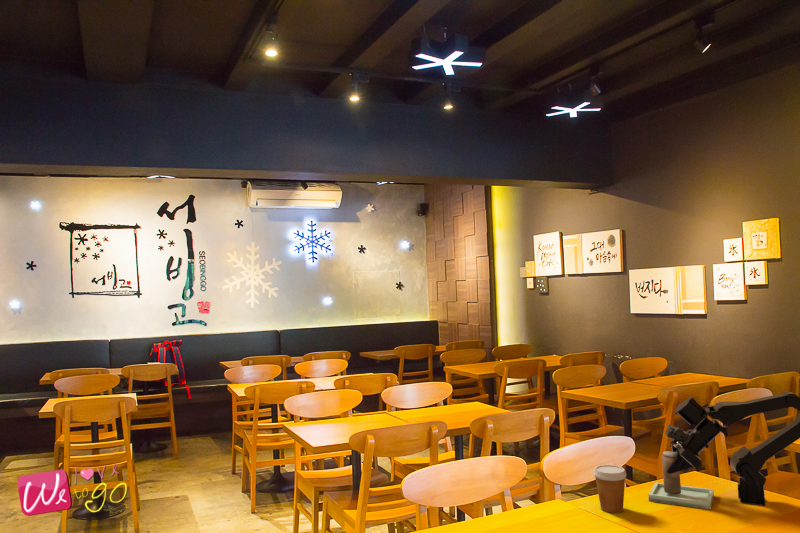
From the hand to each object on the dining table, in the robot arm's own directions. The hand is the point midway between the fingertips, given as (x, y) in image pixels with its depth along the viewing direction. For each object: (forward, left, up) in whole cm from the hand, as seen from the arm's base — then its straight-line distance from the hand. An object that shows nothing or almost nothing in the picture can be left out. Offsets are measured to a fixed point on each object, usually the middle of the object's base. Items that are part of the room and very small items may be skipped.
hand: (666, 470), depth 186 cm
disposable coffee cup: (+13, +17, -9) cm, 23 cm away
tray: (-4, -1, -8) cm, 9 cm away
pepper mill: (-1, 0, -7) cm, 7 cm away
